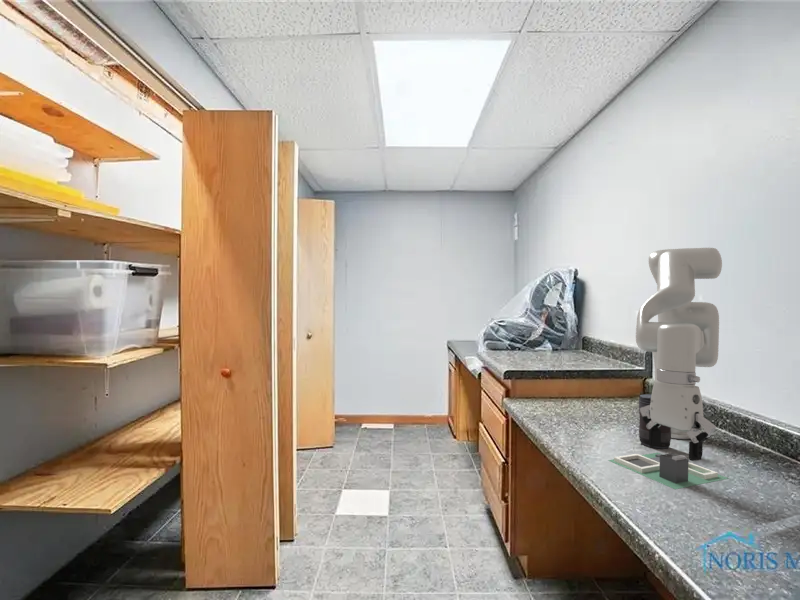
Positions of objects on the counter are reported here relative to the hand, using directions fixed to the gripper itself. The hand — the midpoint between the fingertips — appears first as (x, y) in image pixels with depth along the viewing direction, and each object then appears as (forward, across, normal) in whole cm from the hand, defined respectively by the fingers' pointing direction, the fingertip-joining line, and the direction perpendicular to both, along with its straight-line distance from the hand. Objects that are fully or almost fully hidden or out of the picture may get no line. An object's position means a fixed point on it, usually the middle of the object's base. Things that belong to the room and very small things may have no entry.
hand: (674, 452), depth 100 cm
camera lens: (+7, +19, -19) cm, 28 cm away
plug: (+6, 0, 0) cm, 6 cm away
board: (+7, +5, -5) cm, 10 cm away
